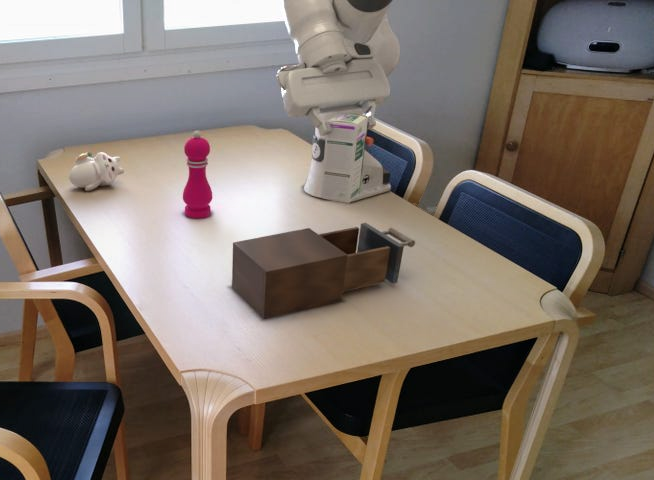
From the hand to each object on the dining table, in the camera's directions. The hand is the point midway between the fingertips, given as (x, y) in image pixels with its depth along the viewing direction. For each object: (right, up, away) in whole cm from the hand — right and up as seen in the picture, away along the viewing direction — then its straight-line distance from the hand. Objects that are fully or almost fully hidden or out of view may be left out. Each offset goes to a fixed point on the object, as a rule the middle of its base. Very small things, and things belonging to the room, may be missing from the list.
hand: (349, 130), depth 120 cm
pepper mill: (-25, -5, +46) cm, 53 cm away
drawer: (+5, -24, +15) cm, 29 cm away
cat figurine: (-52, +7, +65) cm, 83 cm away
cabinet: (-9, -28, +11) cm, 31 cm away
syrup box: (0, -10, +8) cm, 13 cm away
